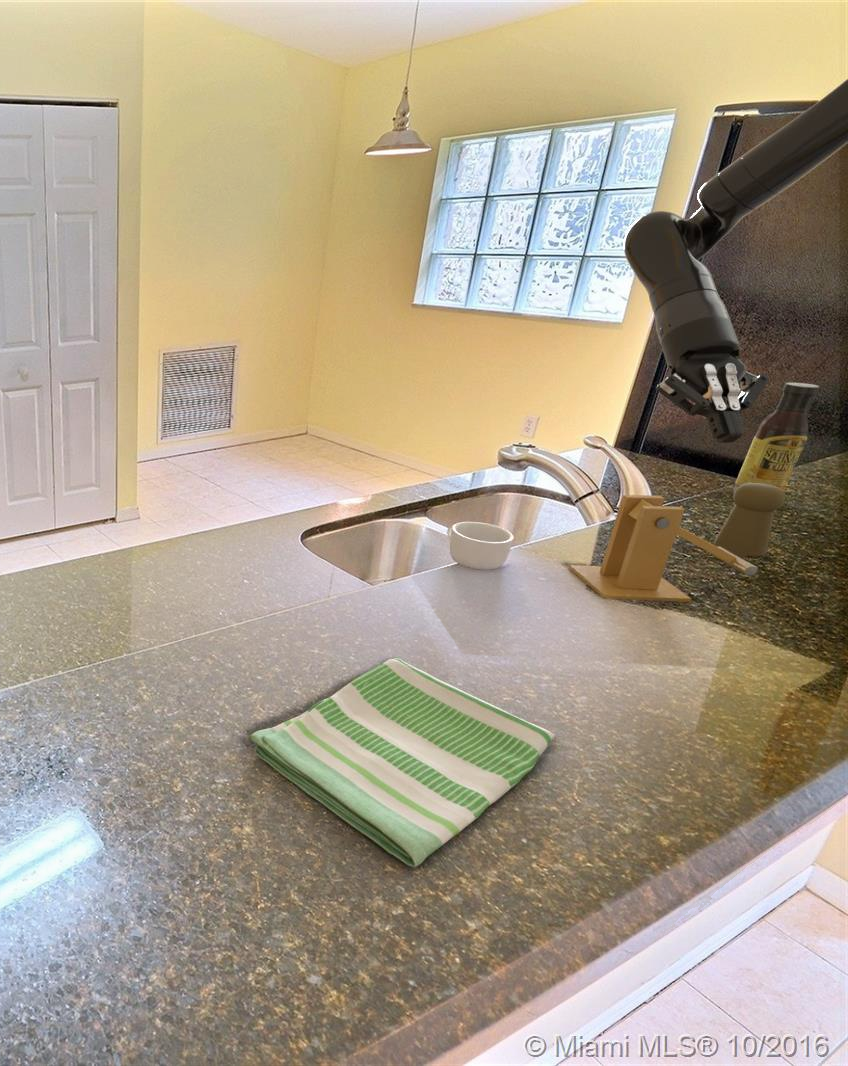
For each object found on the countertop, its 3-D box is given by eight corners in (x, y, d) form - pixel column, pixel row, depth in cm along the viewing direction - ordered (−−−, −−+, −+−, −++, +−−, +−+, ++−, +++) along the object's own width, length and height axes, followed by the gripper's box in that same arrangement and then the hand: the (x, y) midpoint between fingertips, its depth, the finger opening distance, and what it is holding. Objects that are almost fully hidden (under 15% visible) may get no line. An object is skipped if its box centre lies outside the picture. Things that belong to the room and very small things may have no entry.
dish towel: (242, 749, 69) (244, 727, 68) (386, 669, 80) (390, 649, 79) (413, 875, 55) (419, 849, 54) (559, 757, 66) (566, 734, 65)
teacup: (518, 573, 101) (527, 539, 99) (472, 580, 99) (480, 546, 97) (465, 546, 110) (472, 514, 108) (423, 552, 108) (429, 520, 106)
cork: (711, 544, 107) (736, 475, 103) (765, 555, 103) (794, 484, 99) (706, 556, 103) (732, 486, 99) (763, 568, 99) (792, 495, 95)
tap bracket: (645, 576, 98) (674, 490, 93) (688, 608, 90) (722, 515, 85) (567, 573, 100) (591, 489, 95) (601, 604, 92) (629, 513, 87)
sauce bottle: (747, 503, 121) (791, 388, 113) (722, 491, 127) (762, 380, 119) (791, 504, 120) (839, 388, 112) (764, 491, 126) (807, 380, 118)
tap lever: (715, 560, 95) (729, 546, 94) (747, 581, 89) (764, 566, 88) (619, 508, 94) (633, 494, 93) (646, 526, 89) (661, 510, 88)
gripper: (661, 316, 97) (695, 425, 90) (769, 313, 95) (812, 424, 89) (626, 349, 104) (656, 453, 97) (726, 347, 102) (763, 453, 95)
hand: (730, 439), depth 93 cm, fingers closed
